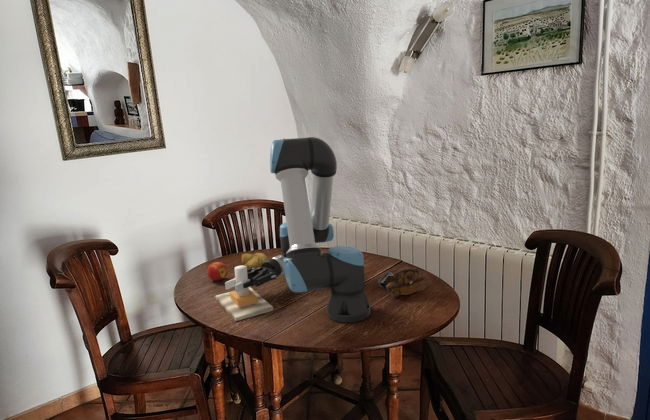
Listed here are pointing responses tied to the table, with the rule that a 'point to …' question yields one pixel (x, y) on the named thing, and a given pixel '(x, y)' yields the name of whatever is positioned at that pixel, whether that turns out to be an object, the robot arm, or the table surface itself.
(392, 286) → the wooden carving
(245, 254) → the bread roll
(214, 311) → the table surface
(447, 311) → the table surface
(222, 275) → the apple
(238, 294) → the block
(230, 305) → the plywood board
